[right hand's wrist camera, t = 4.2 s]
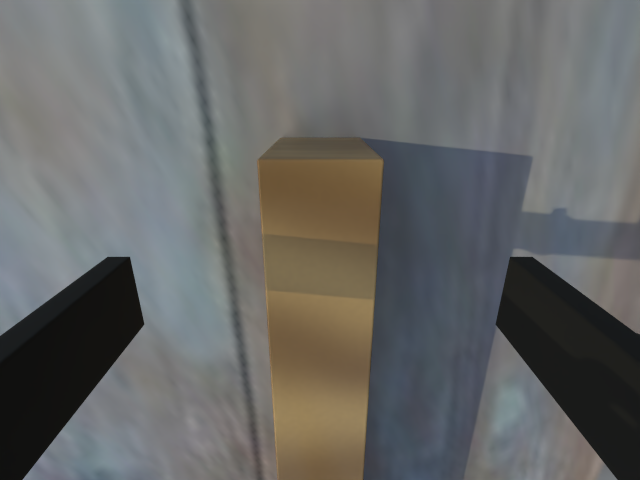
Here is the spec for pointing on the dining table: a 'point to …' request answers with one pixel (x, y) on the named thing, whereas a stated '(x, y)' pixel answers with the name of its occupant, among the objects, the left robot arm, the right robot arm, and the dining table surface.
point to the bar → (320, 299)
